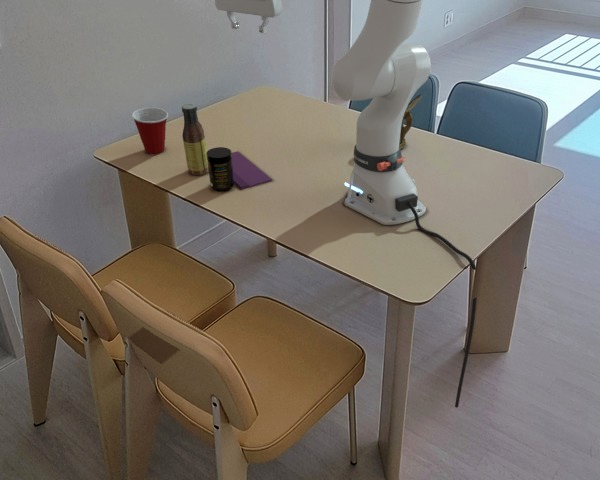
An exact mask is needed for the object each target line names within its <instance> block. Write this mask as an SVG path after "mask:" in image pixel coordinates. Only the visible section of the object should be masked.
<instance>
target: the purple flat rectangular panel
mask: <svg viewBox="0 0 600 480" xmlns="http://www.w3.org/2000/svg"><path fill="white" fill-rule="evenodd" d="M231 153H232V166H233V177H234V186H236V187H237V188H238V189H239V190H243V189H248V188H251V187H254V186H258V185H263V184H266V183H269V182H273V179H272V178H271V177H270V176H269V175H268V174H266V173H265V172H264V171H263V170H261V169H260V168H259V166H257V165H255V164H254V163H253V162H252V161H250V160H249V159H248V158H247V157H246V156H244V155H243V154H242V153H241V152H239V151H235V152H231Z"/></svg>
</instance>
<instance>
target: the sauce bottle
mask: <svg viewBox="0 0 600 480" xmlns="http://www.w3.org/2000/svg"><path fill="white" fill-rule="evenodd" d="M197 111H198V107H197V104H195V103H193V102H192V103H185V104H183V105H182V106H181V112H182V115H183V122H184V123H183V129H182V142H183V149H184V154H185V155H184V156H185V160H186V167H187V169H188V172H189V174H191V175H193V176H202V175H205V174H207V173H209V170H208V161H207V151H208V149H207V141H206V136H205V131H204V127H203V125H202V124H201V123H200V121H199V118H198V112H197Z"/></svg>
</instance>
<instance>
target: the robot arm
mask: <svg viewBox="0 0 600 480" xmlns="http://www.w3.org/2000/svg"><path fill="white" fill-rule="evenodd" d="M214 4H215V5H214V6H215V7H216V9H217V10H218V11H223V12H226V16H227V18H228V20H229V22H230V26H231V28H232V29H234V30H236V29H239V28H240V21H239V20H237V19H236V16H235V15H236V13H237V14H244V15H251V16H258V17H261V21H262V24H261V25H259V26H258V29H259V30H258V32H259V33H260V34H266V33H267V32H268V24H269V23H270V20H271V18H276V17H279V16H280V15H281V13H282V10H283V9H282V8H283V4H282V0H214ZM422 5H423V0H370V3H369V7H368V8H369V9H368V11H367V15H366V20H365V23H364V25H363V27H362V29H361V31H360V33H359V34H358V36H357V38H356V39H355V41H354V43H353V44H352V45H351V47H350V48H349V49H348V50H347V51H346V52H345V53H344V54H343V55H342V56H341V57H339V58H338V59H337V60H336V61H335V63H334V65H333V66H332V70H331V77H330V78H331V84H332V88H333V90H334V91H335V93H336V95H337V96H338V97H340V98H341V99H342V100H343V101H367V100H371V99H372V100H371V102H370V103H369V104H368V105H367V106H366V107H365V108H364V109H363V110H362V111H361V112H360V113H359V115H358V116H357V119H356V135H355V145H354V147H353V162H354V165H353V167H352V171H351V173H350V177H349V183H347V182H344V186H346V187H348V192H347V197H346V198H345V199H344V206H346V207H348V208H350V209H352V210H353V211H355V212H357V213H360V214H361V215H363V216H366V217H367V218H369V219H371V220H373V221H375V222H377V223H379V224H381V225H384V226H392V225H393V226H394V225H399V224H405V223H407V222H410V221H413V220H415V225H416V227H417V229H418V230H420V231H421V232H422V233H424V234H426V235H429V236H432V237H435V238H437V239H438V240H440V241H441V242H442V243H444V244H445V245H446V246H447V247H449V248H450V249H451V250H452V251H453V252H455V253H456V254H457V255H459V256H462V257H463V258H465V259H466V260H467V261H468V263H469V264H470V266H471V269H472V270H473V271H476V270H477V266H476V264H475V262H474V260H473V258H471V256H469V255H468V254H467V253H465V252H464V251H462V250H460V249H458V248H457V247H456V246H454V244H452V243H451V242H450V241H449V240H447V239H446V237H445V238H444V236H442V235H441V234H439V233H437V232H434V231H431V230H428V229H425V228H424V227H422V225H421V223H420V217H421V216H423V215H425V213H426V212H427V207H426V206H425V205H424V204H423V202H421V201H420V200H419V196H418V189H417V186H416V185H417V183H416V179H414V178H411V177H410V175H409V174H408V172H407V170H406V168H405V167H404V165H403V163H404V162H406V160H405V159H406V156H404V157H403V156H402V149H401V150H400V147H399V141H400V132H401V125H402V120H403V116H404V113H405V111H406V109H407V106H408V104H409V103H410V102H411V101H412V100H413V97H414V95H415V94H416V93H417V91H418V90H419V89H420V88H421V87H423V85H424V84H425V83H426V82H427V81H428V79H429V77H430V74H431V71H432V60H431V57H430V55H429V53H428V51H427V49H426V48H425V47H424V46H423V45H420V44H415V43H404V42H406V41H407V40H408V39H409V38H410V37H411V36H412V35H413V34H414V32H415V31H416V29H417V24H418V20H419V16H420V12H421V8H422ZM477 298H478V297H474V298H472V302H471V303H472V304H471V315H470V322H469V329H468V334H467V335H468V336H467V341H466V346H465V351H464V357H463V361H462V366H461V371H460V377H459V381H458V386H457V392H456V398H455V403H454V407H455V408H459V404H460V398H461V393H462V388H463V383H464V377H465V373H466V369H467V368H466V367H467V364H468V358H469V353H470V349H471V343H472V338H473V333H474V326H475V321H476V320H475V319H476V311H477Z"/></svg>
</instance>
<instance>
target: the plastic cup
mask: <svg viewBox="0 0 600 480" xmlns="http://www.w3.org/2000/svg"><path fill="white" fill-rule="evenodd" d="M131 117H132V119H133V121H134V123H135V126H136V129H137V131H138V134H139V137H140V141H141V143H142V145H143V148H144V151H145V152H146V154H149V155H159V154H162V153H164V151H165V148H166V129H167V128H166V127H167V120H168V118H169V113H168V111H167V110H165V109H163V108H159V107H141V108H138V109H136V110H134V111H133V112H132V113H131Z"/></svg>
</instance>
